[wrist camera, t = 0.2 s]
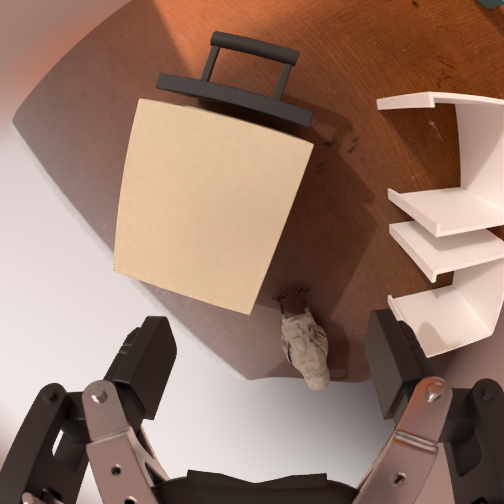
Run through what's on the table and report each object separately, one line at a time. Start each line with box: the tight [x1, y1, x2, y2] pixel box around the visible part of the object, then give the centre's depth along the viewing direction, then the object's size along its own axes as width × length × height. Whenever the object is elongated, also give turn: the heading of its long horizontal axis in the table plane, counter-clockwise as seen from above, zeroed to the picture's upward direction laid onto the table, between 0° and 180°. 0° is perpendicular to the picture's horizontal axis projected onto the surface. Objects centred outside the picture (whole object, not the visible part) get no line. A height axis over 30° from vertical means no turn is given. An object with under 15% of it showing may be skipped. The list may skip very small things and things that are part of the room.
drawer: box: [156, 31, 314, 127], centre depth 23 cm, size 18×12×8 cm, turn 163°
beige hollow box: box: [113, 99, 314, 315], centre depth 25 cm, size 15×13×10 cm
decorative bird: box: [272, 288, 330, 390], centre depth 34 cm, size 5×16×7 cm, turn 21°
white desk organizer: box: [377, 92, 504, 358], centre depth 23 cm, size 25×11×11 cm, turn 12°
